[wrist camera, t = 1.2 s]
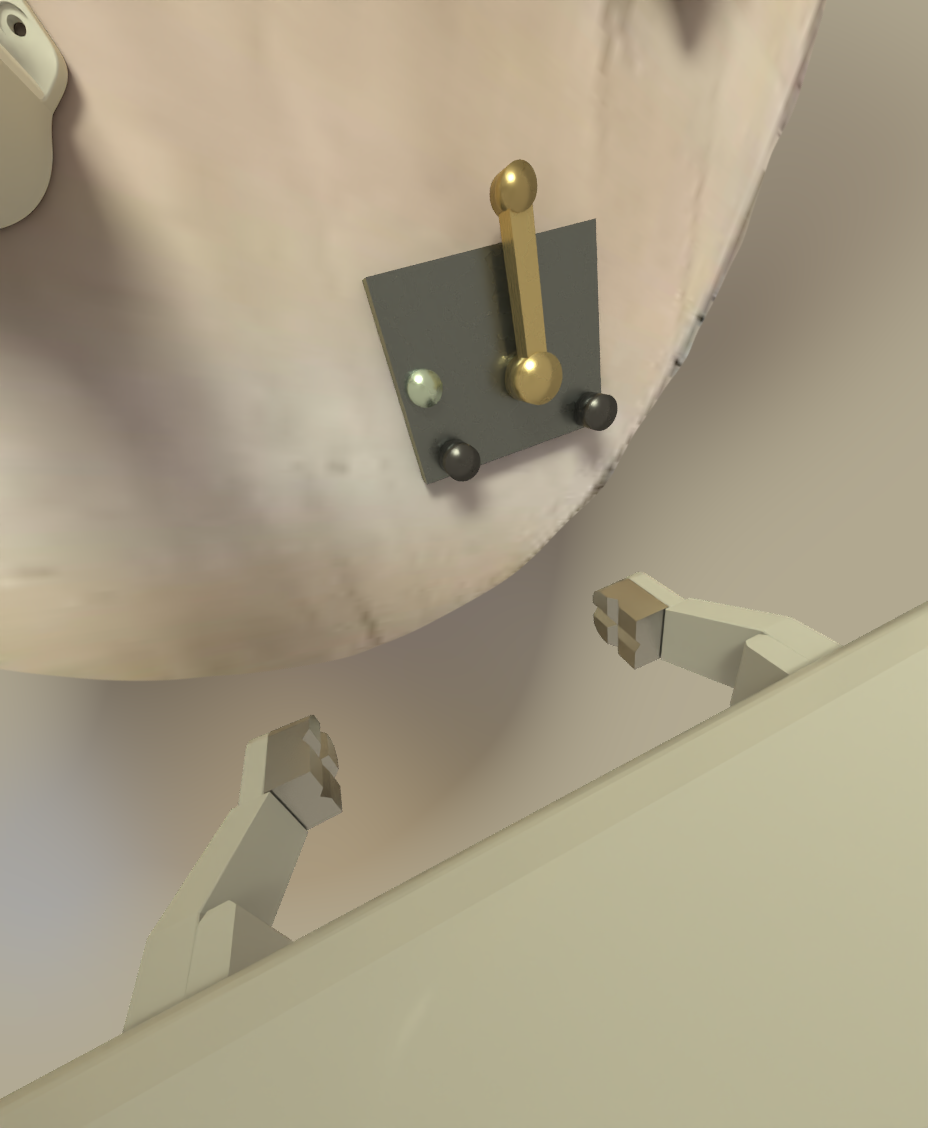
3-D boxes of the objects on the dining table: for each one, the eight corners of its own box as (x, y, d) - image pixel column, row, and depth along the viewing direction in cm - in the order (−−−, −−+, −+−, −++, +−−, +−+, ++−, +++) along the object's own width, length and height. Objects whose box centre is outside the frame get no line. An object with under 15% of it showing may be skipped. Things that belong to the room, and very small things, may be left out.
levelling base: (362, 280, 36) (370, 272, 32) (583, 223, 41) (615, 210, 37) (422, 479, 47) (434, 492, 43) (592, 418, 52) (617, 424, 48)
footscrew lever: (546, 393, 45) (564, 396, 42) (508, 406, 44) (523, 411, 42) (524, 169, 35) (545, 153, 32) (473, 180, 34) (489, 165, 31)
